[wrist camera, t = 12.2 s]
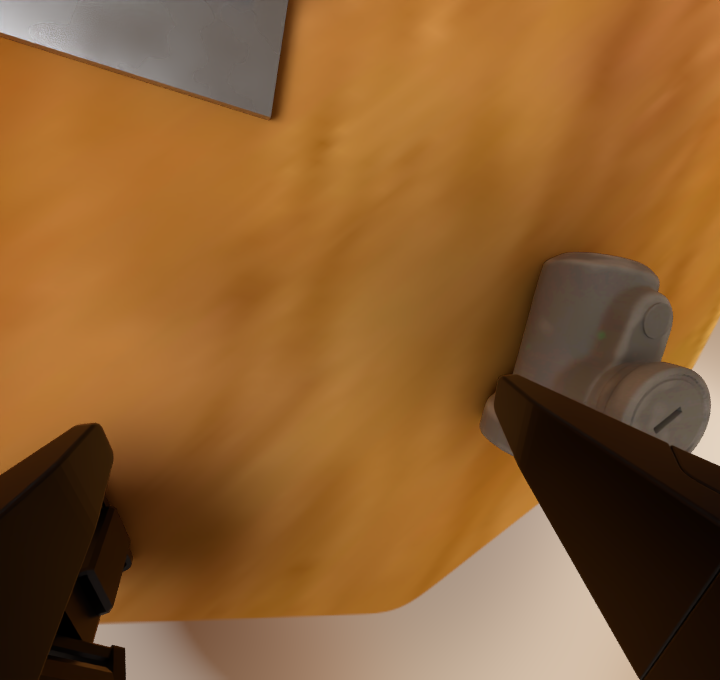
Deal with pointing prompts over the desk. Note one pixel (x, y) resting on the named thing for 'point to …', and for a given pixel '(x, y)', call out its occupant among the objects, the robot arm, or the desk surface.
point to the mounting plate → (164, 42)
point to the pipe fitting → (607, 349)
